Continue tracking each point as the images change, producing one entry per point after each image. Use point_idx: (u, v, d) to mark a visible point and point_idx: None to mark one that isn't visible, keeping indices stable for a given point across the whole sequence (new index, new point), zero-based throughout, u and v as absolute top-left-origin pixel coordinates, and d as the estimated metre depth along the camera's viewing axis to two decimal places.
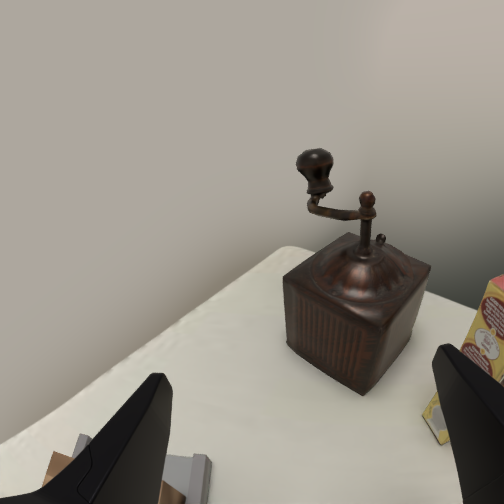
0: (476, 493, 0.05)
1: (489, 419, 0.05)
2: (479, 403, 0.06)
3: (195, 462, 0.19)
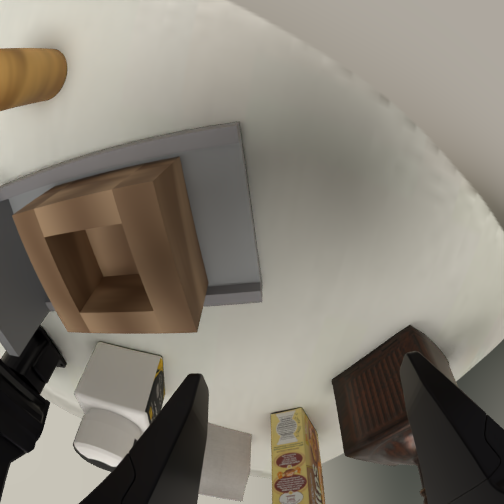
0: None
1: (453, 433, 0.05)
2: (442, 416, 0.06)
3: (249, 294, 0.21)
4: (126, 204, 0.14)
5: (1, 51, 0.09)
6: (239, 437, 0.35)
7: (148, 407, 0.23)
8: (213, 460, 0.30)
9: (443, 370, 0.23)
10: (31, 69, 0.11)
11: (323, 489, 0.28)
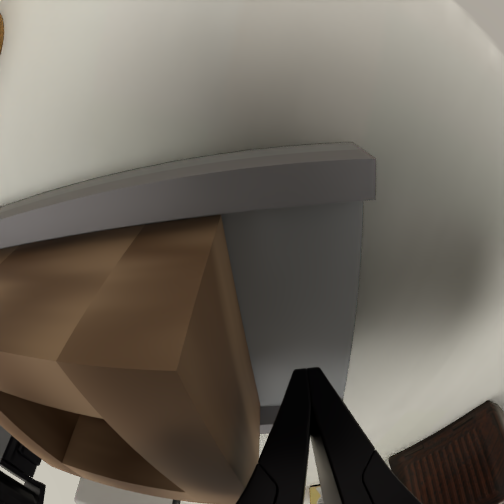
0: None
1: (333, 463, 0.06)
2: (327, 442, 0.06)
3: None
4: (105, 398, 0.04)
5: None
6: None
7: None
8: None
9: None
10: None
11: None
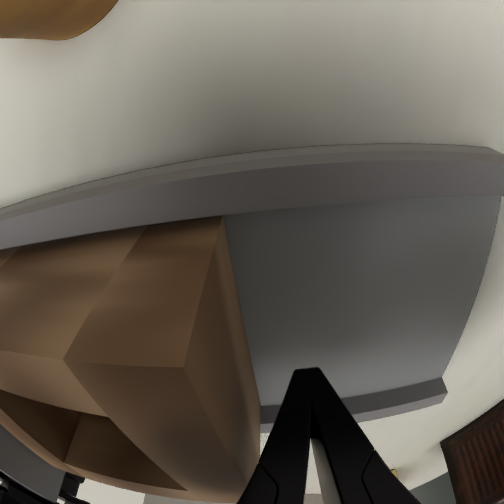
0: None
1: (333, 463, 0.06)
2: (326, 442, 0.06)
3: (433, 398, 0.12)
4: (111, 395, 0.04)
5: None
6: (315, 501, 0.25)
7: None
8: None
9: None
10: None
11: None
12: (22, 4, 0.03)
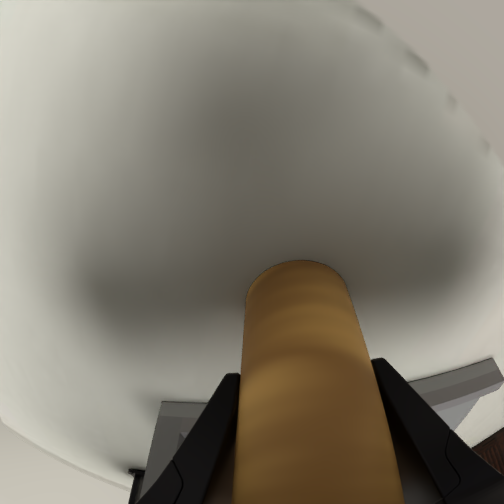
0: None
1: (413, 447, 0.05)
2: (404, 427, 0.06)
3: None
4: None
5: (382, 423, 0.06)
6: None
7: None
8: None
9: None
10: None
11: None
12: None
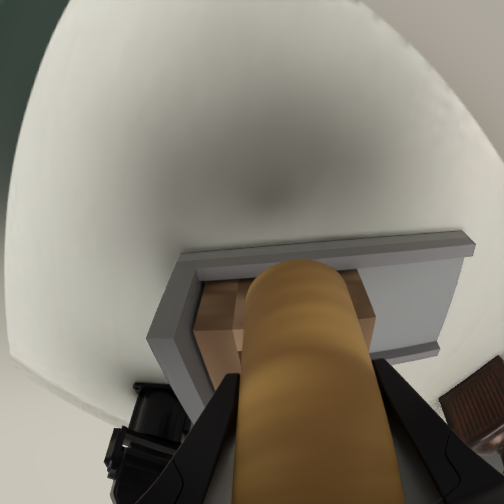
0: None
1: (413, 446, 0.05)
2: (403, 427, 0.06)
3: (432, 351, 0.23)
4: None
5: (382, 423, 0.06)
6: None
7: None
8: None
9: None
10: None
11: None
12: None
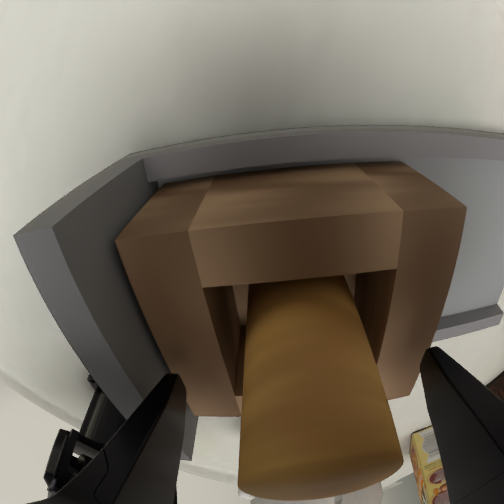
0: (463, 499, 0.05)
1: (476, 425, 0.05)
2: (465, 408, 0.06)
3: (494, 317, 0.15)
4: (418, 239, 0.08)
5: (370, 359, 0.07)
6: None
7: None
8: (353, 493, 0.24)
9: None
10: None
11: None
12: None
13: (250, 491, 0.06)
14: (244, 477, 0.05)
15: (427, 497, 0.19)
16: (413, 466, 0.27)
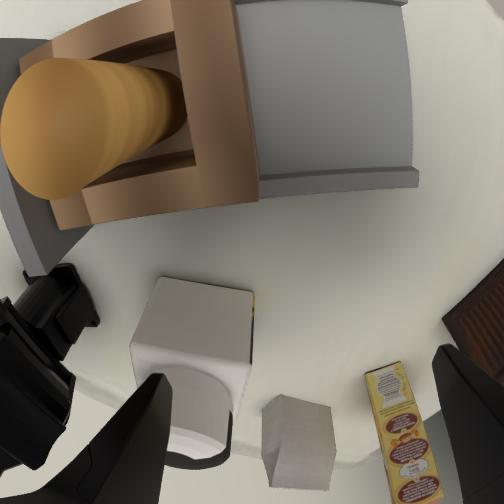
0: (476, 493, 0.05)
1: (489, 418, 0.05)
2: (479, 403, 0.06)
3: (407, 175, 0.15)
4: (186, 6, 0.08)
5: (128, 70, 0.08)
6: (318, 411, 0.29)
7: (251, 357, 0.17)
8: (296, 441, 0.25)
9: None
10: (166, 106, 0.10)
11: None
12: None
13: (8, 159, 0.06)
14: (2, 116, 0.06)
15: (384, 450, 0.20)
16: None
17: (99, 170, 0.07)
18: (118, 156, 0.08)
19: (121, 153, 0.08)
